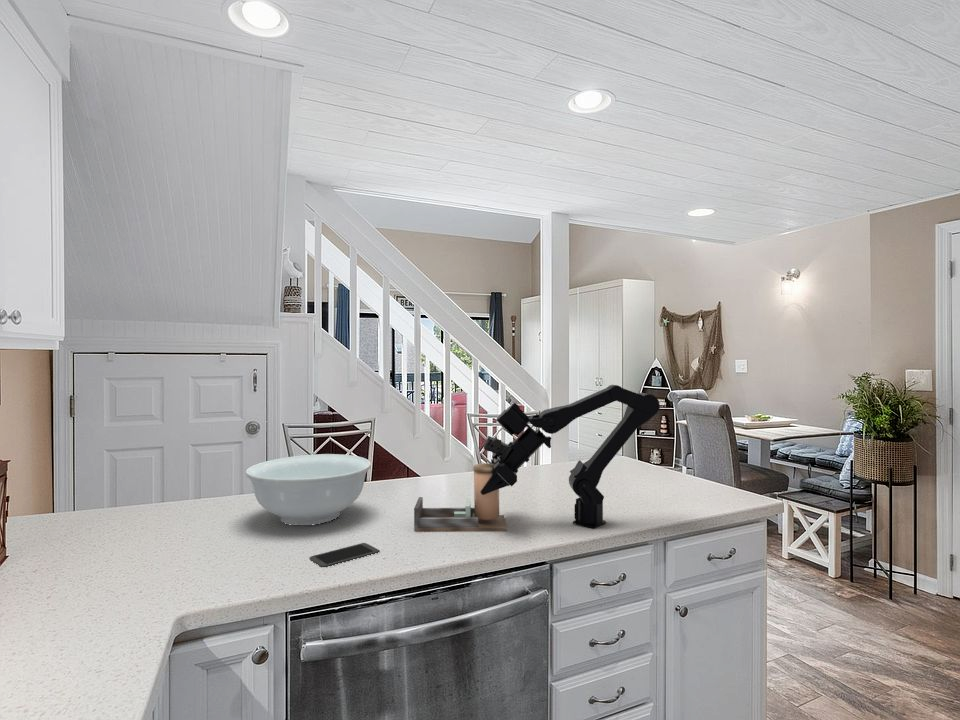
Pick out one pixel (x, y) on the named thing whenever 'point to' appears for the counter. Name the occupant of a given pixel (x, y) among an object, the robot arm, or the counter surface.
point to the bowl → (308, 486)
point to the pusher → (465, 513)
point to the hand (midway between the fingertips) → (481, 490)
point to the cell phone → (343, 554)
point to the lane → (452, 520)
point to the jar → (487, 503)
